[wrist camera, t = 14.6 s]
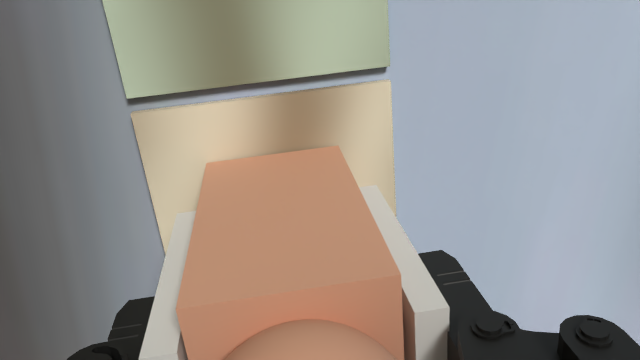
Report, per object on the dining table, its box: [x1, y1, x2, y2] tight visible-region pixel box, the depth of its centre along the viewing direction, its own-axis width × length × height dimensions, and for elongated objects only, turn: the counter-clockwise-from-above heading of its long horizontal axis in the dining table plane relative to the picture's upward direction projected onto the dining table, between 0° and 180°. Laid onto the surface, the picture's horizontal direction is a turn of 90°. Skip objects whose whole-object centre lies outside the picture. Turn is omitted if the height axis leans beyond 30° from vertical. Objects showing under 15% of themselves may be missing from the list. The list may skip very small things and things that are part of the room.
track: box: [102, 0, 396, 255], centre depth 17 cm, size 8×36×1 cm, turn 6°
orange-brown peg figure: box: [176, 146, 404, 360], centre depth 13 cm, size 4×4×12 cm
